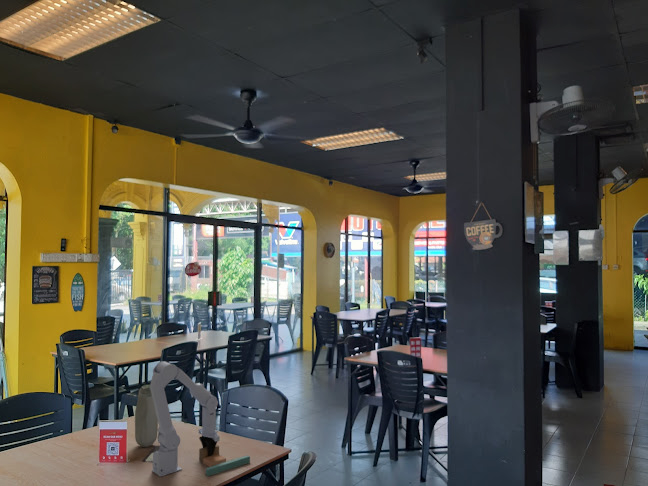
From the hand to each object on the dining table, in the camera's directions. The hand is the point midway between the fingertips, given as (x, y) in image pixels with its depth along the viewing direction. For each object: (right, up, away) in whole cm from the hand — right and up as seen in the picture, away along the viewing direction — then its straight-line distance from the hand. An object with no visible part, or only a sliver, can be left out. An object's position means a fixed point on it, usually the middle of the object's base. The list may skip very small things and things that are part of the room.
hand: (208, 454), depth 215 cm
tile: (+3, -2, -4) cm, 6 cm away
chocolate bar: (-24, -3, +7) cm, 25 cm away
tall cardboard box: (0, -2, 0) cm, 2 cm away
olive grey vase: (-33, -4, +17) cm, 37 cm away
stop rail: (+10, -2, -10) cm, 15 cm away
